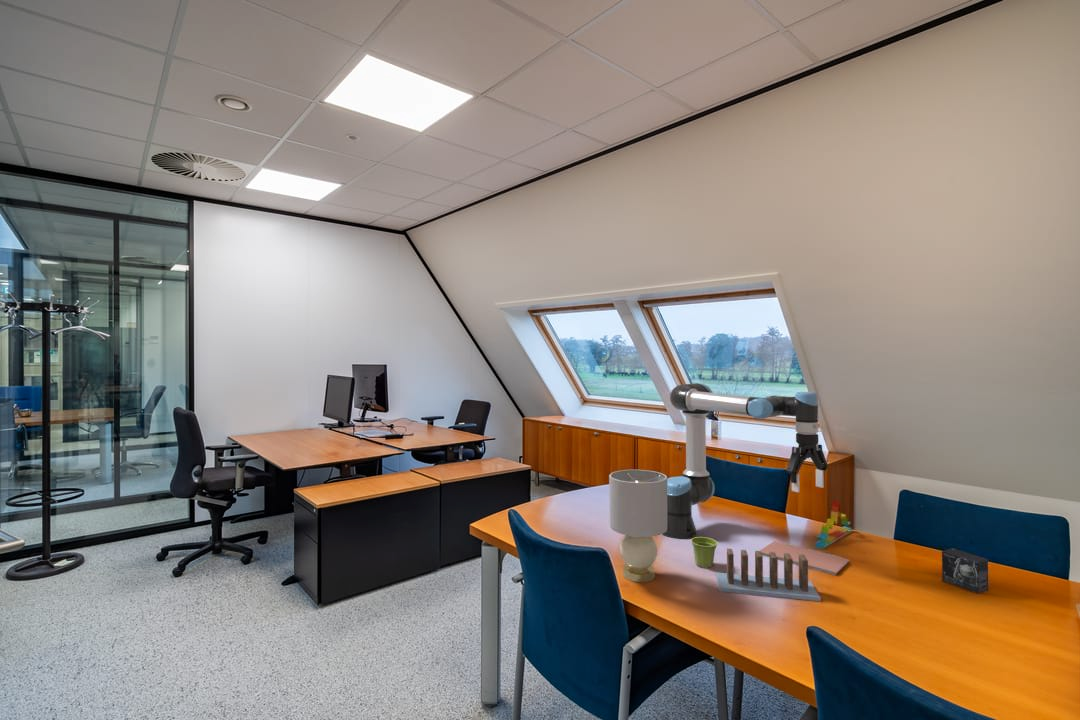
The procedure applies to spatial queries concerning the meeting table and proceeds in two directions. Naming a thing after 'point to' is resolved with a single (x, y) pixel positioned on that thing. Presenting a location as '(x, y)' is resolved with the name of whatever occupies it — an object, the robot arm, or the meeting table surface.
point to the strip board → (766, 588)
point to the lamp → (638, 518)
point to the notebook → (814, 558)
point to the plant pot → (704, 551)
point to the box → (965, 570)
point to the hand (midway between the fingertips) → (807, 489)
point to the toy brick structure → (835, 535)
